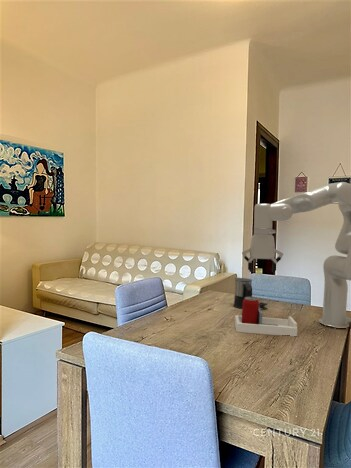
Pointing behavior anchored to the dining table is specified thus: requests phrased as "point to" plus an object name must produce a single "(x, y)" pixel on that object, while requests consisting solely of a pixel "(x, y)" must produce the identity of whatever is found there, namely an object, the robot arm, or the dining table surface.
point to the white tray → (268, 326)
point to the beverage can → (250, 310)
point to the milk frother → (243, 291)
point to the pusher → (261, 319)
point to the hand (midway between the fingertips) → (261, 271)
